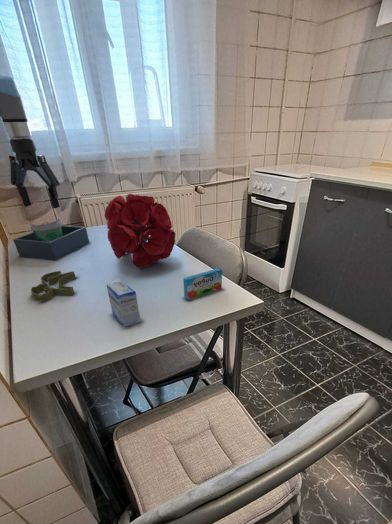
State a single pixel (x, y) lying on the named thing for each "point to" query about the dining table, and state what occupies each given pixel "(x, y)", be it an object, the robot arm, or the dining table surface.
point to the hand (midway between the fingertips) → (42, 206)
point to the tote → (52, 244)
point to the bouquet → (139, 229)
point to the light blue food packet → (202, 284)
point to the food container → (48, 231)
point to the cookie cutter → (52, 279)
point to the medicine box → (123, 303)
